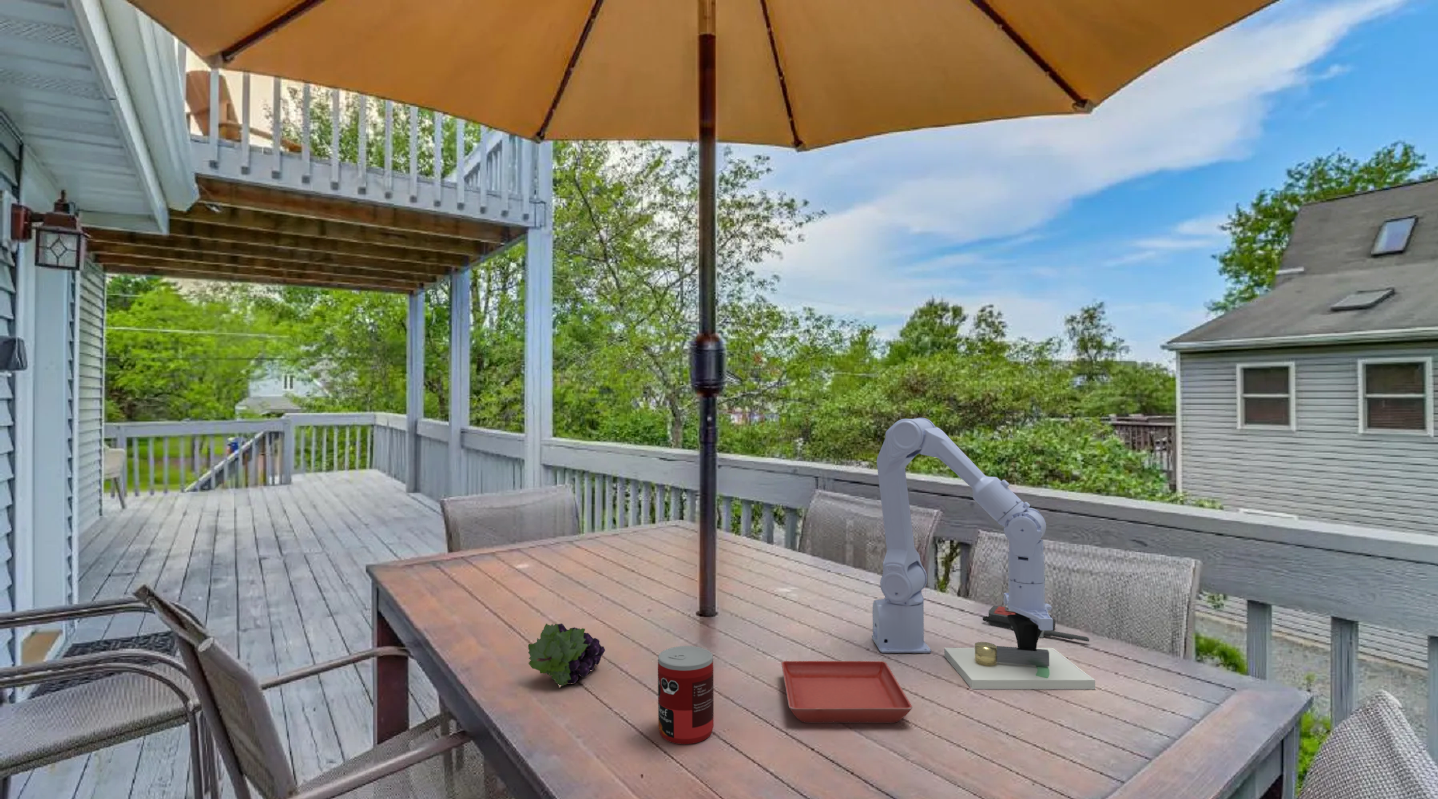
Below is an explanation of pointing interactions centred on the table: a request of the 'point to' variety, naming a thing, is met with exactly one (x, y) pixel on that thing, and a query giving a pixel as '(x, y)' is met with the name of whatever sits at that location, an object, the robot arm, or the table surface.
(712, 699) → the canned food
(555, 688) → the table surface
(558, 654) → the fruit
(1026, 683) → the dial board
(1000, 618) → the walkie-talkie
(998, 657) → the dial lever
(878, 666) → the plant saucer
